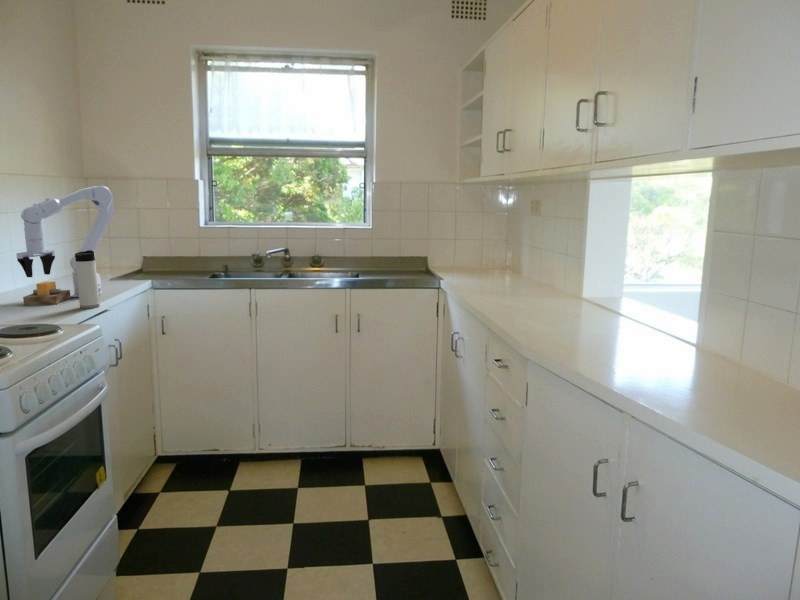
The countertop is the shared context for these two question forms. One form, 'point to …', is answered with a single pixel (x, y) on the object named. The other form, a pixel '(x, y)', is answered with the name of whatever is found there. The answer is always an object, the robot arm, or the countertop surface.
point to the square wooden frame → (47, 297)
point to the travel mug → (87, 279)
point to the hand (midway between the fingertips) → (38, 275)
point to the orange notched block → (45, 288)
